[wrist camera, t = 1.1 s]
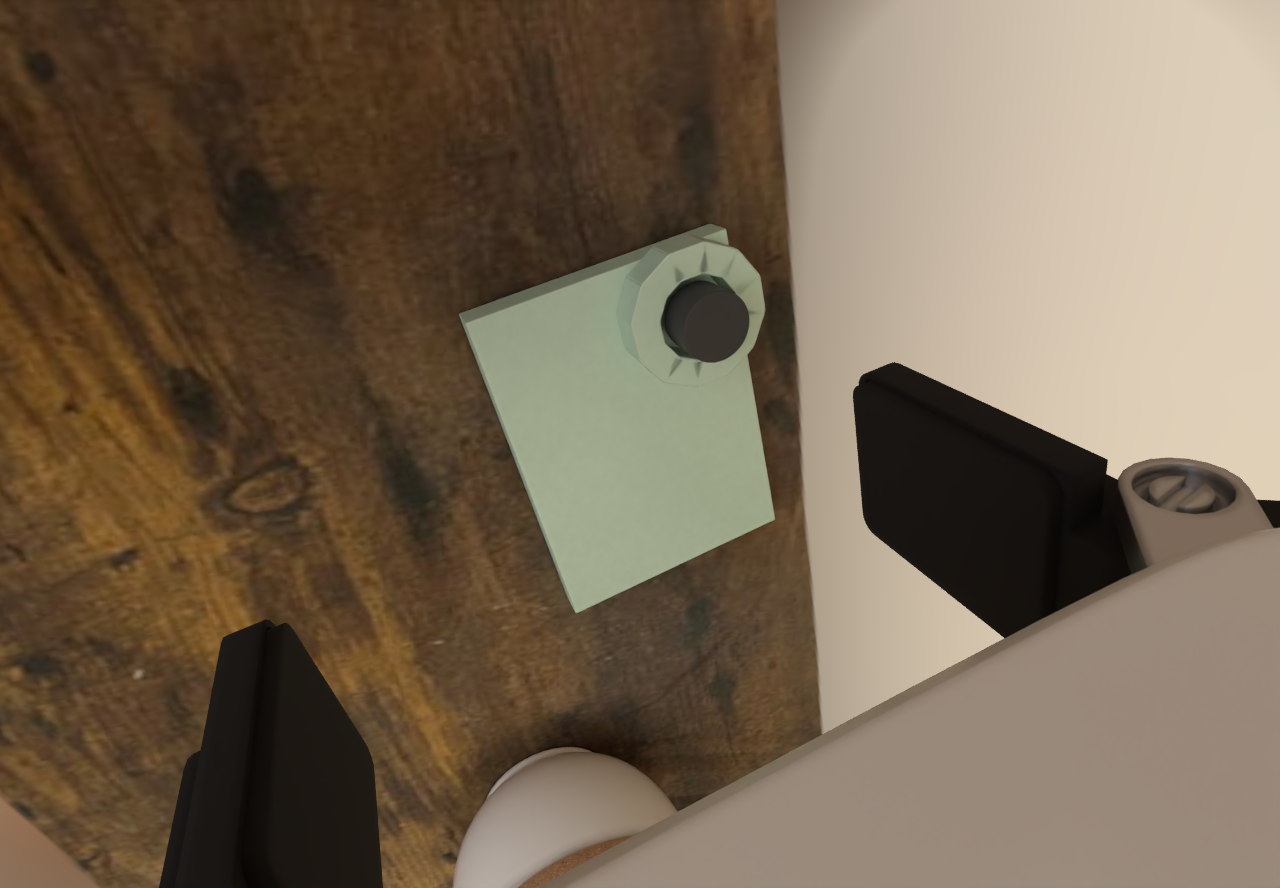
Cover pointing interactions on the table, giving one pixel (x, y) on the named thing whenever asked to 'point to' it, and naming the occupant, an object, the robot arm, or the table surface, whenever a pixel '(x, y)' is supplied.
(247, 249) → the table surface
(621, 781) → the lidded bowl
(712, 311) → the tare button
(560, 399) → the green dial base
